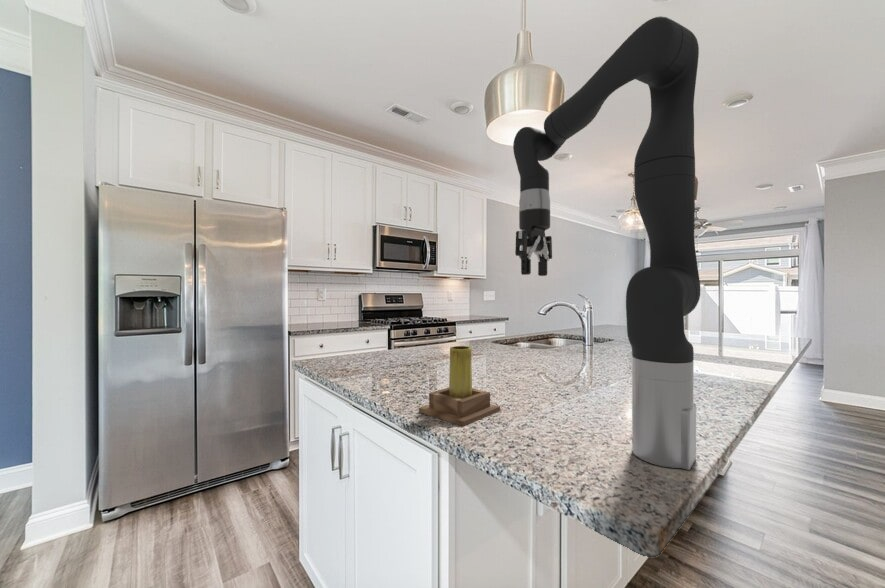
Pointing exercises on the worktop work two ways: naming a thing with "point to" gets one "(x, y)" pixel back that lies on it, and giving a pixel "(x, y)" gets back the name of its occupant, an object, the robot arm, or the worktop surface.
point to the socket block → (459, 406)
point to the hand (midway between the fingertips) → (534, 275)
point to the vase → (460, 372)
